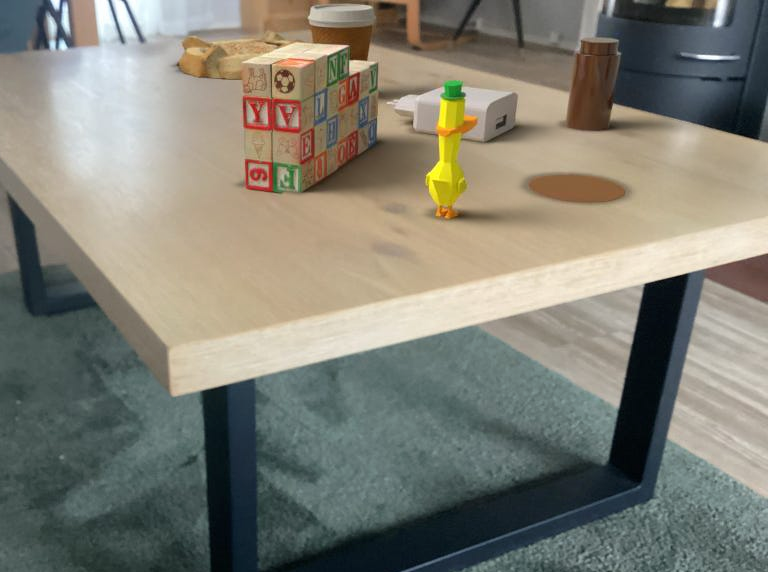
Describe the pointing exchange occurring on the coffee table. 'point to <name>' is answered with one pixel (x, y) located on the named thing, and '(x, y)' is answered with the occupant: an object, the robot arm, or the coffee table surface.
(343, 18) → the disposable coffee cup
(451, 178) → the toy figure
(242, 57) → the tan flat lumpy slab
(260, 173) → the stack of blocks
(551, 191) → the coaster
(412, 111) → the charger
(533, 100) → the coffee table surface
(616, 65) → the jar
